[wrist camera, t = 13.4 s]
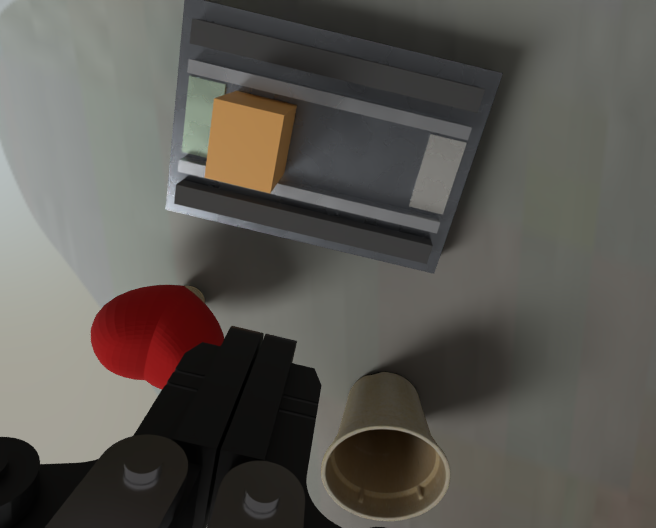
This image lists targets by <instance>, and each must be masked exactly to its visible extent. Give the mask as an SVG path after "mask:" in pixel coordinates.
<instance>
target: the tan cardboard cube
mask: <svg viewBox="0 0 656 528" xmlns="http://www.w3.org/2000/svg"><path fill="white" fill-rule="evenodd" d="M296 108H297V105H294V104H290V103H286V102H282V101H278V100H273V99H269V98H265V97H261V96H257V95H253V94H249V93H245V92H240V91H234V92H231V93H228V94H225V95H222V96H219V97H216V98H214V103H213V111H212V119H211V128H210V136H209V144H208V153H207V161H206V169H205V177H204V178H208V179H212V180H216V181H220V182H224V183H229V184H233V185H237V186H241V187H245V188H249V189H254V190H258V191H262V192H266V193H271V192H272V190H273V189H274V187H275V186H276V185H277V183H278V182H279V180H280V179H281V177H282V176H283V175H284V172H285V167H286V161H287V156H288V151H289V145H290V140H291V135H292V129H293V124H294V119H295V113H296Z"/></svg>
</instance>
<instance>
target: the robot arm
mask: <svg viewBox="0 0 656 528" xmlns="http://www.w3.org/2000/svg"><path fill="white" fill-rule="evenodd" d="M296 343H297V341H294V340H290V339H286V338H282V337H278V336H273V335H269V334H265V336H264V339H263V333H260V332H256V331H252V330H248V329H244V328H239V327H235V326H231V327H230V329H229V331H228V333H227V335H226V337H225V339H224V341H223V343H222V345H221V346H217V345H213V344H209V343H205V342H202V343H200V344H198V345H197V346H195V347H194V348H192V349H191V350H189V351H187V352H186V353H185V354H184V355H183V357H182V359H181V360H180V362H179V363H178V365H177V367H176V368H175V371H174V372H173V373H172V375H171V376H170V378H169V379H168V381H167V384H166V385H165V386H164V387H163V389H162V391H161V392H160V394H159V395H158V397H157V399H156V400H155V402H154V403H153V405H152V407H151V408H150V410H149V412H148V413H147V415H146V416H145V418H144V420H143V421H142V423H141V424H140V426H139V428H138V429H137V431H136V432H135V434H134V435H133V436H132V437H128V438H125V439H123V440H120V441H118V442H117V443H115V444H113V445H112V446H111V447H109V448H108V449H107V450H106V451H105V452H104V453H103V454H102V455H101V457H100V458H99V459H97V460H93V461H88V462H82V463H64V464H40V460H39V455H38V453H37V451H36V450H35V449H34V447H32V446H31V445H30V444H29V443H27V442H25V441H23V440H19V439H16V438H10V437H0V528H206V527H207V528H341V527H340V526H338V525H336V524H334V523H333V522H331V521H330V520H328V519H327V518H326V517H325V516H324V515H323V514H321V512H320V511H319V510H318V509H317V508H316V506H315V505H314V503H313V502H312V500H311V498H310V496H309V493H308V490H307V484H306V478H307V470H308V464H309V458H310V452H311V446H312V440H313V433H314V427H315V420H316V415H317V409H318V403H319V397H320V391H321V383H320V381H319V378H318V376H317V373H316V371H315V369H314V368H310V367H306V366H302V365H297V364H293V363H292V361H293V357H294V352H295V348H296ZM207 524H208V525H207ZM372 528H385V527H372Z"/></svg>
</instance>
